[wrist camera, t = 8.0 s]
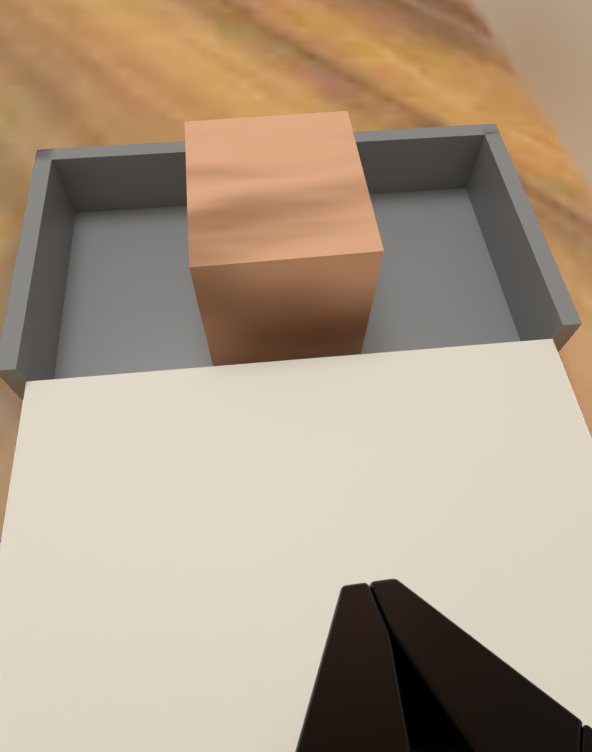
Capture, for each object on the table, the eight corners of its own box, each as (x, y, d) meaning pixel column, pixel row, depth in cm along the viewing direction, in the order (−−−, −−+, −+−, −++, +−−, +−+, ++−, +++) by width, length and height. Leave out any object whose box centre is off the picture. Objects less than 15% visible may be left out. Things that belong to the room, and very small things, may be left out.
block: (383, 251, 20) (347, 110, 24) (189, 267, 19) (184, 121, 23) (361, 352, 26) (335, 228, 30) (213, 366, 25) (206, 238, 29)
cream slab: (647, 718, 19) (703, 723, 17) (5, 798, 18) (-43, 818, 15) (525, 373, 26) (552, 338, 23) (53, 413, 25) (25, 381, 22)
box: (542, 371, 26) (581, 323, 23) (36, 414, 25) (-6, 370, 21) (473, 184, 32) (495, 123, 29) (65, 209, 31) (37, 149, 27)
